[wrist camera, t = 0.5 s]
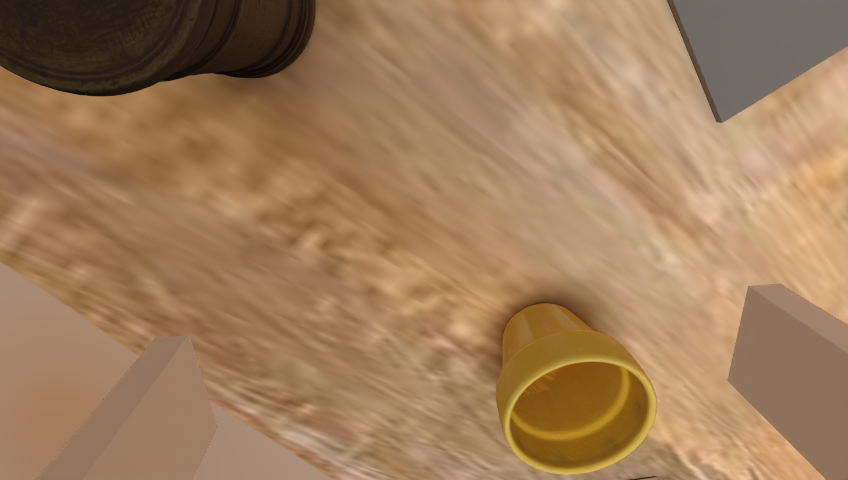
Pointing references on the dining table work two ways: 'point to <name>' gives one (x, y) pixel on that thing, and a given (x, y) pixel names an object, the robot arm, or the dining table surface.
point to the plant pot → (570, 393)
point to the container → (148, 40)
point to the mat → (757, 44)
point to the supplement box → (650, 479)
